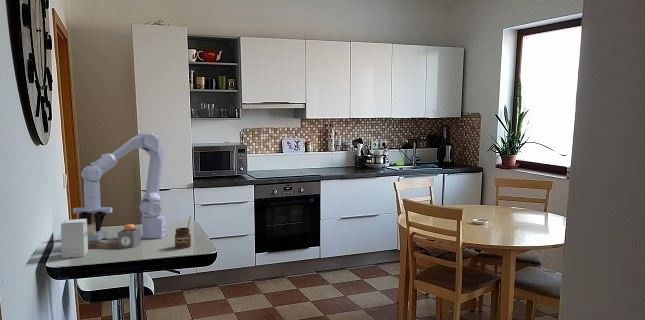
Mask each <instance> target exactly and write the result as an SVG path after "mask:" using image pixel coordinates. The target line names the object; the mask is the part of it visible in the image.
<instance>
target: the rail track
mask: <svg viewBox="0 0 645 320" xmlns="http://www.w3.org/2000/svg"><path fill="white" fill-rule="evenodd" d="M88 249H118V237H105V238H103V239H101V240H99V241H88Z"/></svg>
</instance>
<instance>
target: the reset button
mask: <svg viewBox="0 0 645 320" xmlns="http://www.w3.org/2000/svg"><path fill="white" fill-rule="evenodd" d="M134 228H135V224H134V223H127V224H124V225H123V229H124V231H134Z"/></svg>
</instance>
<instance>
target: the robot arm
mask: <svg viewBox="0 0 645 320" xmlns="http://www.w3.org/2000/svg"><path fill="white" fill-rule="evenodd" d="M136 149H142V150H144V151H145V152H146V153H147V155H148V156H149V164H148V172H147V178H146V184H145V185H146V187H145V193H144V194H143V196H142V200H141V201H140V204H139V205H138V206H139V208H138V209H139V210H140V212H141V213H142V214H141V239H162V238H164V237H165V236H167V235H168V232H167V231H168V230H167V229H168V228H167V218H166V216H165V215H161V213H162V210H163V207H162V206H163V205H162V204H161V203H162V202H161V200H162V198H161V195H160V185H161V179H162V178H161V177H162V172H163V171H162V170H163V163H164V162H163V161H164V154H165V153H164V149H163V148H162V144H161V139H160V138H159V137H158V136H157V135H156V134H154V133H153V132H148V133H146V132H141V133H138V134H137V135H135V136H133V137H131V138H130V139H129V140H128V141H126V142H125V143H124V144H123V145H121V146H119V148H117V149H116V150H115V151H114V152H112V153H104V154H103V153H102V154H101V155H100V158H98V159H97V160H95V161H94V162H93V161H92V162H91V163H90V165H87V166H85V167H84V168H83V169H82V171H81V173H80V176H81V177H82V179H83V199H84V200H83V203H84V206H83V207H82V206H81V207H74V208H72V214H77V213H81V215H80V218H81V219H87V225H89V224H92V216H93V217H94V222H95V223H96V232H98V231H102V230H101V229H102V224H103V221H104V219H105V217H106V215H107V214H111V213H113V207H112V206H111V207H109V206H101V205H102V203H101V202H102V201H101V185H100V183H101V182H100V180H101V178H102V176H103V175H104V174H106V173H107V172H108V171H110V170H111V169H113V168H114V167H116V166H117V164H118V160H120V159H121V158H123V157H124V156H126V155H127V154H129V153H130V152H132V151H134V150H136Z"/></svg>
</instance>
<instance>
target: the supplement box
mask: <svg viewBox="0 0 645 320" xmlns="http://www.w3.org/2000/svg"><path fill="white" fill-rule="evenodd" d="M60 234H61V237H60V238H61V258H62V259H68V258H69V259H70V258H71V257H72V258H81V257H82V258H84V257H85V256H86V255H87V253H88V252H89V248H88V236H87V219H77V218H75V219H65V220H64V221H63V222H61V224H60Z"/></svg>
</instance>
